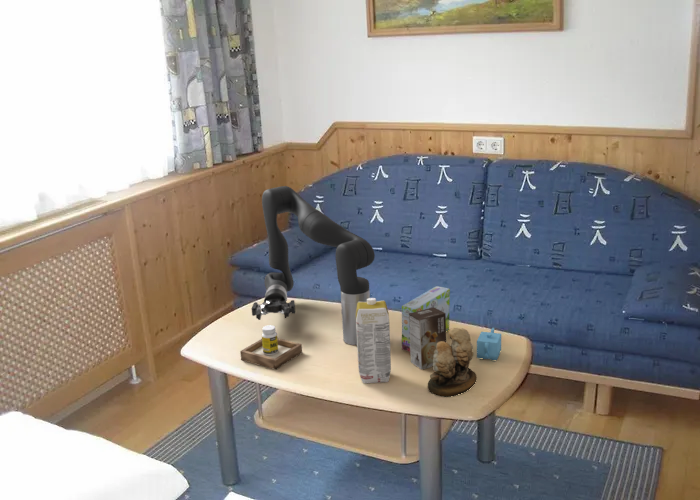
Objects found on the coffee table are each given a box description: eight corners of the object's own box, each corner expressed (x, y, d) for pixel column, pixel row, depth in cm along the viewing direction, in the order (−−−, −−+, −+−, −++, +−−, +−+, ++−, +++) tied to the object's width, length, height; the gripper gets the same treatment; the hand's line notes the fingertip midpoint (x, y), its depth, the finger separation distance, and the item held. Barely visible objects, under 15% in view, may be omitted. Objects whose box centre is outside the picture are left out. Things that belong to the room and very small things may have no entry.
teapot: (483, 346, 226) (483, 323, 224) (502, 348, 224) (503, 325, 222) (475, 362, 216) (475, 339, 213) (496, 365, 213) (496, 341, 211)
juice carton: (390, 370, 213) (387, 294, 206) (392, 383, 206) (389, 305, 198) (358, 372, 213) (354, 296, 206) (359, 385, 206) (355, 306, 198)
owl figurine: (451, 366, 215) (451, 312, 210) (487, 376, 208) (488, 321, 202) (417, 390, 201) (417, 334, 196) (454, 402, 194) (455, 344, 189)
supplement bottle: (272, 356, 223) (269, 331, 221) (260, 353, 226) (257, 329, 223) (281, 350, 227) (279, 326, 224) (269, 348, 229) (267, 323, 227)
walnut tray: (302, 352, 228) (301, 344, 227) (276, 369, 218) (275, 360, 217) (267, 344, 235) (267, 335, 234) (241, 359, 225) (240, 351, 224)
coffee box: (435, 354, 222) (434, 306, 217) (447, 362, 216) (446, 313, 212) (409, 362, 218) (408, 312, 213) (421, 370, 212) (420, 320, 208)
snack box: (416, 354, 223) (415, 309, 218) (401, 350, 226) (399, 305, 222) (450, 330, 239) (450, 287, 234) (436, 326, 242) (435, 284, 238)
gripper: (254, 289, 249) (249, 307, 233) (295, 286, 249) (293, 304, 233) (256, 309, 251) (251, 328, 235) (297, 307, 251) (295, 325, 236)
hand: (272, 316), depth 234 cm, fingers open, 8 cm apart
